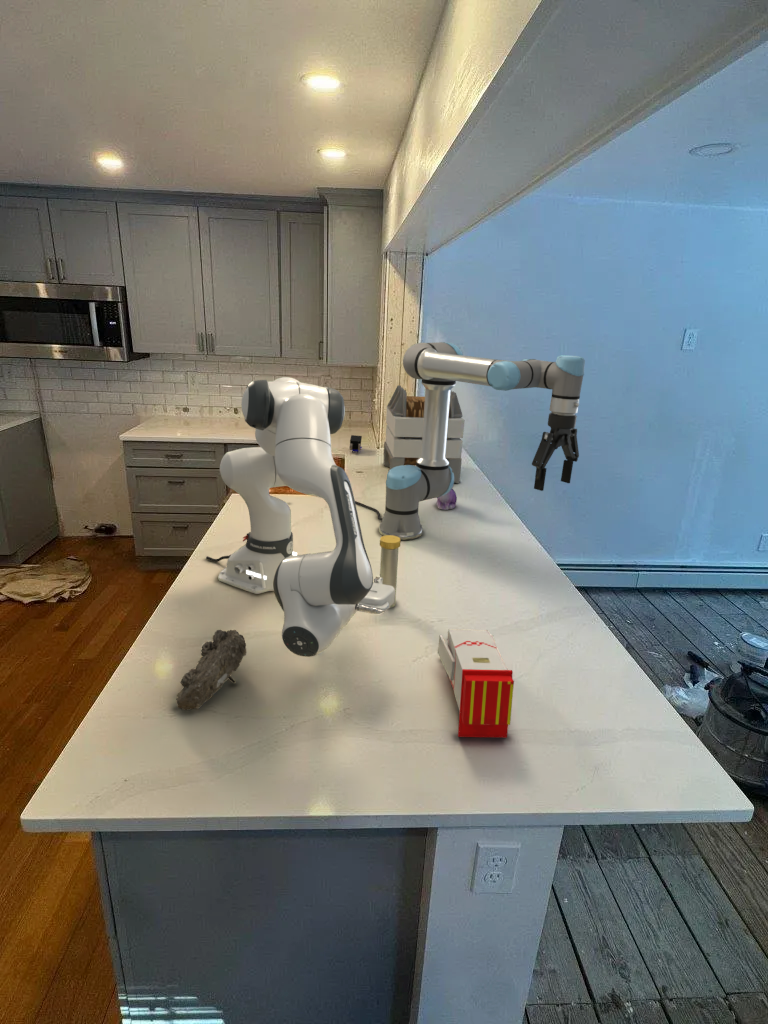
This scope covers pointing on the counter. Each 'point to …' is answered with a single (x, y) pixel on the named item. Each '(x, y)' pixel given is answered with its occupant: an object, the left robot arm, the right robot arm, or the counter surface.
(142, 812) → the counter surface
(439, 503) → the figurine
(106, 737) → the counter surface
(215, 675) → the fossil
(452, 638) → the toy
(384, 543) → the lid
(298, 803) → the counter surface
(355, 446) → the figurine character
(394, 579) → the beige cylinder
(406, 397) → the grey slatted box
